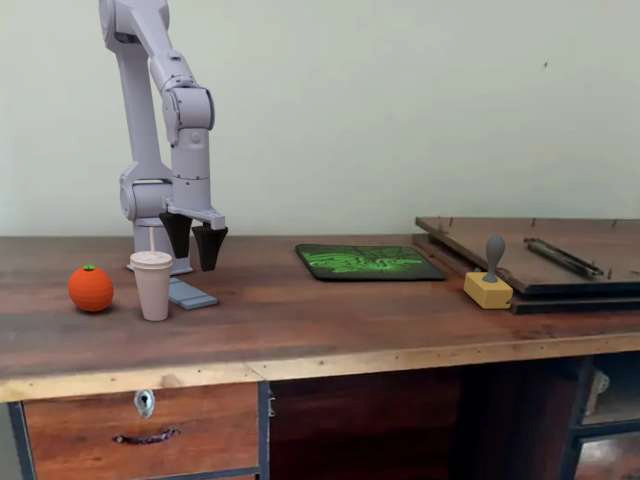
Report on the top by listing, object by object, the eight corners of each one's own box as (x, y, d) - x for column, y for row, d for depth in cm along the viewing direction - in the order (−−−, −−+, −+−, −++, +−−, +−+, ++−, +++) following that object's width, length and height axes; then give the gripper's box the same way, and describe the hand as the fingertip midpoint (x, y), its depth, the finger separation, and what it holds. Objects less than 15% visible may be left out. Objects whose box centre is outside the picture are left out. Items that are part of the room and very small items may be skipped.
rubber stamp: (510, 308, 144) (523, 243, 137) (482, 309, 142) (493, 243, 136) (489, 290, 152) (500, 228, 145) (462, 290, 150) (472, 227, 144)
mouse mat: (412, 248, 172) (413, 243, 171) (449, 280, 154) (450, 275, 154) (292, 248, 163) (292, 243, 163) (316, 282, 146) (317, 276, 146)
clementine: (72, 300, 128) (66, 257, 124) (116, 300, 130) (112, 258, 126) (69, 318, 122) (63, 273, 118) (115, 317, 123) (110, 273, 120)
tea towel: (175, 281, 140) (174, 277, 140) (217, 303, 133) (217, 298, 132) (145, 287, 136) (145, 282, 136) (187, 309, 129) (186, 305, 129)
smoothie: (183, 314, 127) (178, 227, 119) (161, 326, 122) (155, 236, 114) (149, 307, 129) (142, 220, 121) (126, 318, 123) (118, 229, 116)
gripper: (142, 167, 120) (149, 255, 128) (196, 188, 112) (199, 280, 120) (181, 164, 125) (185, 249, 132) (235, 184, 116) (236, 273, 124)
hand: (194, 264), depth 126 cm, fingers open, 7 cm apart
